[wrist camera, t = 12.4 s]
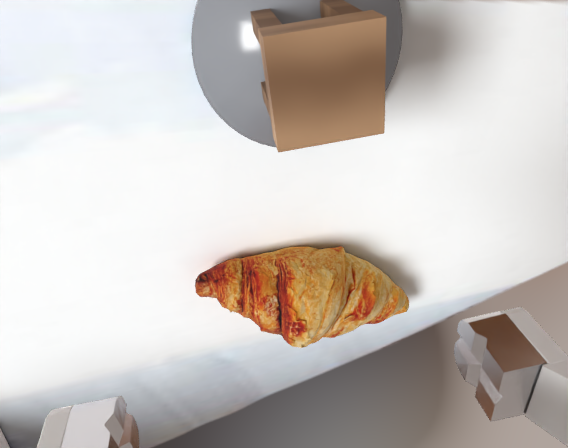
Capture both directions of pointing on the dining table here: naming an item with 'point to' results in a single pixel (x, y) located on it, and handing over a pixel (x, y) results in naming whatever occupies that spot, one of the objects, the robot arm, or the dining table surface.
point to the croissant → (304, 292)
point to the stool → (323, 75)
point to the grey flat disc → (259, 55)
